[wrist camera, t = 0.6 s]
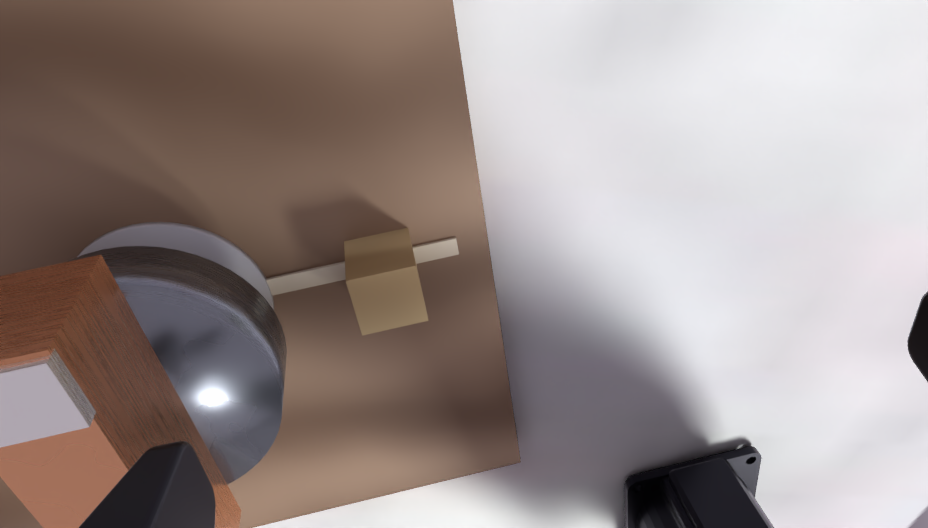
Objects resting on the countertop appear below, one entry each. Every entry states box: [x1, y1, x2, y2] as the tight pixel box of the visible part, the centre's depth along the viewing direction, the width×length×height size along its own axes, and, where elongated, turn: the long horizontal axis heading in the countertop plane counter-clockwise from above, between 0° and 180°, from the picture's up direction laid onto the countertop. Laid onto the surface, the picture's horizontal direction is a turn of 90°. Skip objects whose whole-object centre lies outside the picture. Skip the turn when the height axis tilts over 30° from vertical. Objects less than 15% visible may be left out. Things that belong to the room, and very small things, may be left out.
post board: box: [0, 0, 521, 528], centre depth 20 cm, size 22×20×3 cm
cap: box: [0, 246, 287, 528], centre depth 16 cm, size 9×7×6 cm
